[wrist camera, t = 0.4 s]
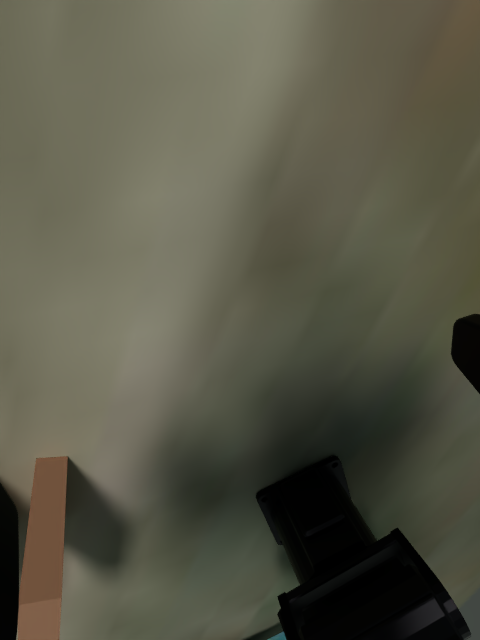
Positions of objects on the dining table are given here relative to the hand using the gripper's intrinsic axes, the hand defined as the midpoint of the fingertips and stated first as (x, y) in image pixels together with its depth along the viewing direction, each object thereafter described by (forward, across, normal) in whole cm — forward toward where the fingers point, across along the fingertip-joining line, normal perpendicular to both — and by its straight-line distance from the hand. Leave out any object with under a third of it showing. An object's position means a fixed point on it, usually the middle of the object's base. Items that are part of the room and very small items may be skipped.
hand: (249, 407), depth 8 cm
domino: (+14, +10, +14) cm, 22 cm away
